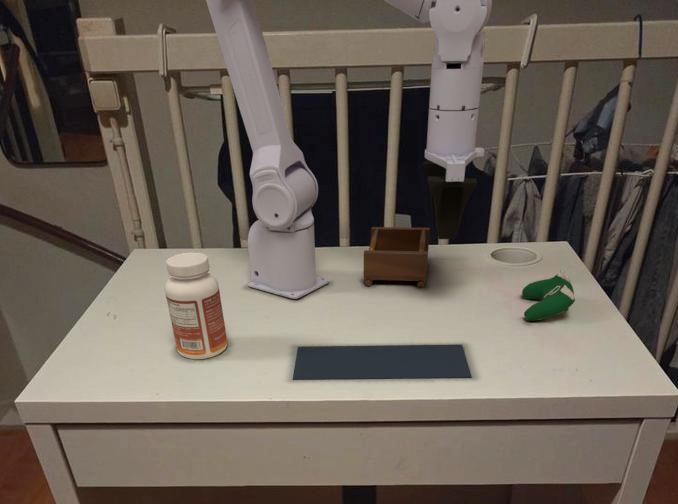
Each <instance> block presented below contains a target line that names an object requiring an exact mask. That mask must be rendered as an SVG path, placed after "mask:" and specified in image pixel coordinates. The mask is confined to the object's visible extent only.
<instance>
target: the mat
mask: <svg viewBox="0 0 678 504" xmlns="http://www.w3.org/2000/svg"><path fill="white" fill-rule="evenodd" d="M295 356H296V357H295V361H294V368H293V375H292V380H294V381H295V380H296V381H297V380H298V381H299V380H304V381H305V380H386V379H388V380H390V379H391V380H395V379H396V380H397V379H399V380H400V379H401V380H402V379H472V378H473V376H472V373H471V369H470V366H469V362H468V360H467V356H466V353H465V349H464V345H463V344H461V343H460V344H458V343H457V344H389V345H388V344H386V345H384V344H383V345H382V344H381V345H318V346H317V345H316V346H315V345H314V346H313V345H312V346H311V345H309V346H308V345H307V346H302V345H301V346H297V350H296V355H295Z"/></svg>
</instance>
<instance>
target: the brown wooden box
mask: <svg viewBox="0 0 678 504" xmlns="http://www.w3.org/2000/svg"><path fill="white" fill-rule="evenodd" d="M430 229H431V227H405V226H404V227H402V226H401V227H398V226H395V227H394V226H391V227H390V226H371V228H370V244H369V248H368V249H365V250H364V251H363V280H364V283H365V285H366V286H367V287H370V286H372V284H373V281H403V282H405V281H407V282H408V281H410V282H417V287H419V288H423V287H424V286H425V282H426V281H427V274H428V273H427V270H428V259H429V246H430V231H431V230H430Z"/></svg>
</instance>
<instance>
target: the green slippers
mask: <svg viewBox="0 0 678 504" xmlns="http://www.w3.org/2000/svg"><path fill="white" fill-rule="evenodd" d="M521 295H522V297H523V298H524V299H526V300H527V299H528V300H540V301H537V302H535V303H534V304H532V305H530V306H529V307H528V308H527V309H526V310H525V311H524V313H523V316H524V317H525V320H526V321H527V322H532V321H542V320H544V319H548V318H552V317H554V316H557V315H559V314H562V313H566V312H567V311H568V310H569V308H570V307H571V306H572V305H574V303H575V302H576V295H575V291H574V287H573V285H572V281H571V279H570V277H569V276H568V275H567V274H566V272H564V271H563V270H562V269H560V270H559V272H558V273H557V274H555V275H554V276H553V277H549V278H546V279H541V280H536V281H533V282H531V283H528V284H527V285H526V286H524V287H523V289H522V290H521ZM541 299H542V300H541Z"/></svg>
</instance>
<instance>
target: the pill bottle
mask: <svg viewBox="0 0 678 504" xmlns="http://www.w3.org/2000/svg"><path fill="white" fill-rule="evenodd" d="M165 264H166V270H167V274H168V276H169V277H170V278H168V279H167V280H166V282H165V285H164V293H165V298H166V303H167V308H168V312H169V317H170V323H171V327H172V332H173V336H174V341H175V347H176V350H177V352H178V353H179V354H180V355H181V356H182V357H184V358H187V359H191V360H205V359H209V358H212V357H215V356H218V355H220V354H221V353H222V352H224V351H225V350H226V348H227V347H228V338H227V330H226V325H225V318H224V312H223V311H224V310H223V305H222V300H221V298H222V297H221V292H220V287H219V286H220V285H219V282H218V280H217V278H216V277H215V276H214V275H212V274H211V273H209V272H210V262H209V257H208V255H206V254H205V253H202V252H194V251H193V252H182V253H177V254H174V255H172V256H170V257H168V258H167V259H166V261H165Z"/></svg>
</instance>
